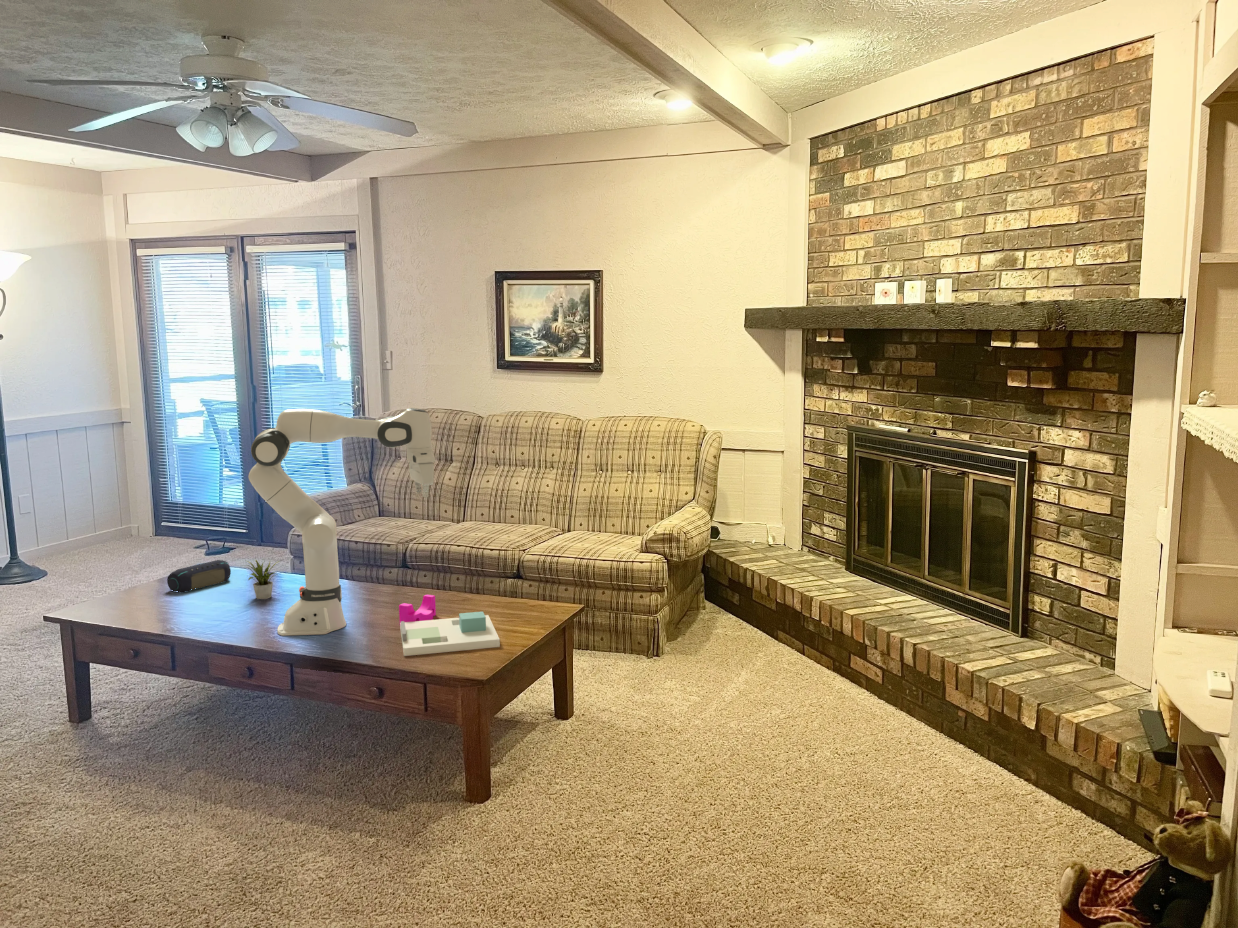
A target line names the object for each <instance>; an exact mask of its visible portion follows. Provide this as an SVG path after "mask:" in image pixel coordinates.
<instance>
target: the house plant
mask: <svg viewBox="0 0 1238 928" xmlns="http://www.w3.org/2000/svg"><path fill="white" fill-rule="evenodd" d="M264 559H265V558H263V559H262V563H261V564H260V563H259V562H258V560H257V559H255V562H256V567H255V566H254V564H253V563H252V562H250V561H249V560H246V562H248V563H249V565H248V564H246V566H247V567H246V566H245V567H242V568H246V569H248V570H250V571H251V573H249V578H248V580H247V581H250V580H252V579H253V580H254V578H255V579H256V580H255V582H254V583H253V584H252V585H253V590H254V594H255V599H257V600H267V599H271V597H272V594H273V584H274V583H273V581H270V580H271V579H272V578H273V577H274V576H278V574H277V572H276V571H275V572H274V571H273V572H270V571H271V570H272V569H273V568H274V566H275V565H276V564H278V563H280V560H279V561H276V562H275V563H274V564H273V565H272V566H271V561H269V563H268V564H267V567H265V569H264V570H263V568H264V563H265V562H266V560H264ZM249 567H250V568H249ZM271 576H272V577H271Z"/></svg>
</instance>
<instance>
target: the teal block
mask: <svg viewBox="0 0 1238 928" xmlns="http://www.w3.org/2000/svg"><path fill="white" fill-rule="evenodd" d="M485 615H486V614H485V613H484V611H474V612H461V613H458V618H459V626H460V629H461V632H462V633H464V632H475V631H486V617H485Z"/></svg>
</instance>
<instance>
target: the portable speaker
mask: <svg viewBox="0 0 1238 928" xmlns="http://www.w3.org/2000/svg"><path fill="white" fill-rule="evenodd" d="M231 571H232V570H231V566H230V564H229V563H228V561H226V560H223V559H221V560H220V559H215V560H213V561H209V562H208V561H207V562H203V563H199V564H195V565H191V566H186V567H182V568H179V569H175V570H174V571H172V572H170V573H169V575H168V576H167V580H166V583H167V587H168V588H169V590H170V591H171V590H173V591H178V592H177V593H179V592H181V593H186V592H185V591H188V592H190V590H191V589H192V590H191V591H195V590H198V589H197V588H199V589H202V587H203V588H206V587H205V586H207V587H210V585H211V586H214V585H218V584H221V582H222V583H225V582H227V581H228V580H230V577H231V574H232V573H231ZM213 584H214V585H213ZM195 588H196V589H195ZM194 589H195V590H194ZM173 591H172V592H173Z"/></svg>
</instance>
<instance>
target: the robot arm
mask: <svg viewBox="0 0 1238 928" xmlns="http://www.w3.org/2000/svg"><path fill="white" fill-rule="evenodd" d="M432 432H433V430H432V422H431V417H430V413H428V411H426V410H425V409H421V408H415V407H414V408H413V407H411V408H406V409H405V410H404V411H403V412H401V413H400V414H398V415H395V416H394V415H393V416H387V417H384V418H381V419H375V420H374V419H364V418H354V417H353V418H352V417H347V416H344V415H341V414H337V413H333V412H330V411H325V410H321V409H320V410H319V409H312V408H311V409H310V408H295V409H294V408H293V409H284V410H283V411H281V412H280V414H279V415H278V417H277V420H276V425H275V427H269V428H266V429H264V430H263V431H261V432H260V433H258V434H257V435H256V437H255V438H254V440H253V442H252V444H251V446H250V453H251V457H252V458H253V460H254V461H255V462H256V464H254V466H252V467H251V468H250V470H249V473H248V477H247V478H248V481H249V482H250V484H251V486H252V487H253V488H254V490H255V491H256V493H258V495H259V496H260V497H261V498H262V499H263V500H264V501H265V502H266V503H267V504H268V505H269V506H270V507H271V508H272V509H273V510H274V511H275V512H276V513H277V514H278V515H279V516H280V517H281V518H282V519H283V520H285V521H286V522H287V523H289V524H290V525H291V526H293V527H294V528H295V529H296V530H297V531H299V533H300V534H301V538H302V539H301V540H302V553H303V561H304V562H303V563H304V576H305V579H304V580H305V586H303V585H302V586H300V587H299V589H298V592H299V597H300V599H298V600H297V601H296V602H295V603H294V604H292V605H291V606H290V607H289V608H288V609H287V610H286V611H285V614H284V618H283V622H281V623H280V624H279V625H278V626H277V630H276V631H277V634H278V635H280V636H282V637H283V636H307V635H308V636H310V635H311V636H313V635H327V634H329V633H331V632H333V631H337V630H340V629H343V628H345V627H346V626H347V621H346V618H345V615H344V611H343V606H342V598H343V593H342V586H341V584H340V571H339V570H340V569H339V554H338V537H337V536H338V535H337V533H338V531H337V529H338V528H337V522H336V520H335V519H334V517H333V516H332V515H331V514H329V513H328V511H326V509H324V508H323V507H322V506H321V505H320V504H319V503H317V501H315V500H314V499H313V498H312V497H310V495H308V494H307V493H306V492H305V491H304V490H303V489H302V488H301V487H300V486H299V484H298V483H296V481H294V480H293V479H292V478H291V477H290V476H289V474H287V472H286V471H285V470H284V468H283V467H282V462H283V461H284V459H285V458H286V457H287V455H288V453H289V450H290V447H291V444H294V443H299V442H302V443H315V444H325V443H332V442H336V441H339V440H341V439H344V438H345V439H346V438H351V437H353V438H364V439H365V438H369V439H376V440H378V441H379V442H380V444H381V445H383V446H385V447H387V448H389V449H391V448H392V449H393V448H394V449H395V448H398V447H401V446H404V445H405V447H406V460H407V461H406V462H408V463H409V465H408V466H409V467H408V468H409V469H408V471H409V478H410V480H412V481H413V484H414V487H415V493H416V494H419V495H420V494H422V495H421V497H423V498H429V493H430V492H429V490H430V486H433V484H434V481H435V466H434V463H436V457H435V455H434V451H433V448H434V447H433V443H432V436H433V435H432V434H433V433H432Z"/></svg>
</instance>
